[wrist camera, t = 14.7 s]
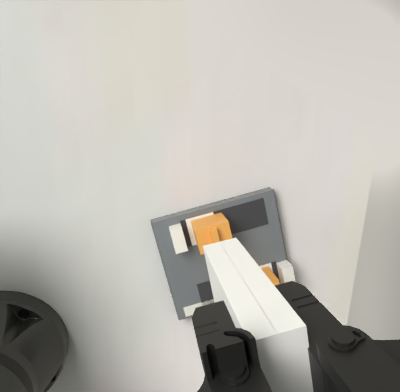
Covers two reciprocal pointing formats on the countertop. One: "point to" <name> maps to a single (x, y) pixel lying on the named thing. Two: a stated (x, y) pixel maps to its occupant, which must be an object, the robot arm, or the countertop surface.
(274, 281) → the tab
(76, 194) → the countertop surface
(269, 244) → the switch board
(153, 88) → the countertop surface
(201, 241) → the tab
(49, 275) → the countertop surface
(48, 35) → the countertop surface
